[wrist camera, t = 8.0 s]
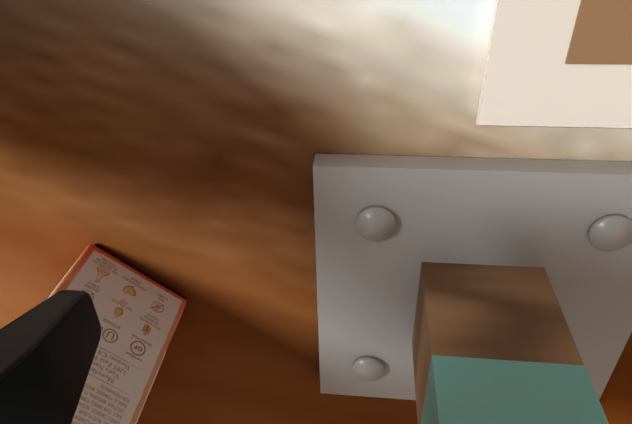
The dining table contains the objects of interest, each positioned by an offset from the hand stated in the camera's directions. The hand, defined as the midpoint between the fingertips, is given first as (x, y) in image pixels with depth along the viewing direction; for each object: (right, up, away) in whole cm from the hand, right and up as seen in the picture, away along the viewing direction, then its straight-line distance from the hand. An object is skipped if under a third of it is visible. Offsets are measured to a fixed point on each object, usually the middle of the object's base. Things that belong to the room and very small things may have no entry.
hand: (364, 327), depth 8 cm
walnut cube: (+6, -2, +14) cm, 16 cm away
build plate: (+6, -2, +15) cm, 17 cm away
